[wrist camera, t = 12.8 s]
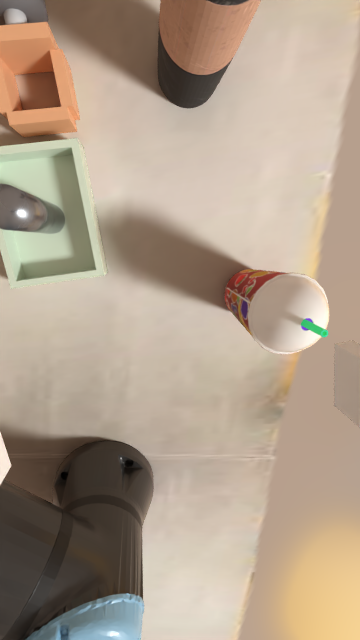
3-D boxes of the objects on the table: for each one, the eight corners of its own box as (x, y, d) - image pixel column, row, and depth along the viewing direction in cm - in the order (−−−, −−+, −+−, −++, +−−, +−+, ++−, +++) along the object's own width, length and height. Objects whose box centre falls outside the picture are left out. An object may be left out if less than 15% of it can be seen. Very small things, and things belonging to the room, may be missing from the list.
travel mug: (146, 95, 37) (152, -62, 17) (166, 23, 35) (196, -238, 16) (206, 121, 38) (272, 2, 19) (228, 53, 37) (324, -153, 17)
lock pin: (68, 231, 39) (33, 226, 26) (38, 235, 38) (-11, 232, 26) (61, 201, 38) (21, 181, 25) (31, 205, 37) (-25, 186, 25)
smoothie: (212, 317, 45) (265, 377, 25) (221, 258, 43) (287, 275, 23) (266, 323, 46) (357, 384, 27) (278, 266, 44) (385, 288, 25)
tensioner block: (82, 131, 37) (67, 104, 30) (18, 137, 36) (-13, 112, 29) (61, 23, 34) (40, -34, 27) (-8, 29, 33) (-50, -29, 26)
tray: (107, 272, 41) (104, 275, 38) (22, 284, 40) (11, 288, 37) (83, 147, 37) (77, 138, 34) (-11, 158, 36) (-28, 149, 33)
